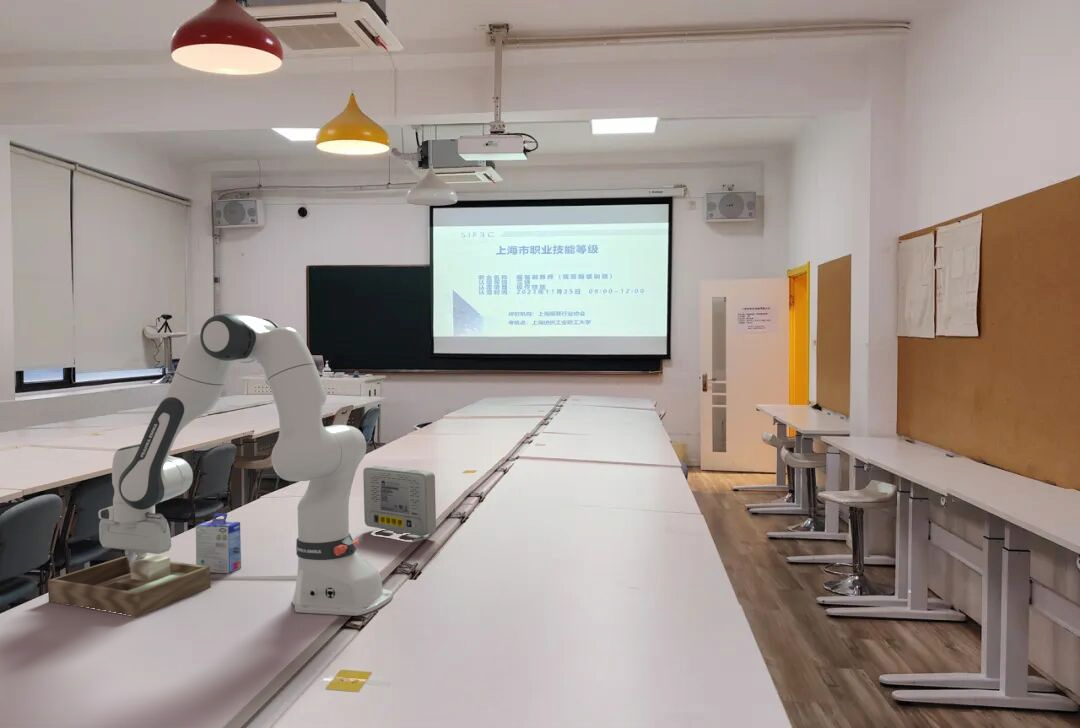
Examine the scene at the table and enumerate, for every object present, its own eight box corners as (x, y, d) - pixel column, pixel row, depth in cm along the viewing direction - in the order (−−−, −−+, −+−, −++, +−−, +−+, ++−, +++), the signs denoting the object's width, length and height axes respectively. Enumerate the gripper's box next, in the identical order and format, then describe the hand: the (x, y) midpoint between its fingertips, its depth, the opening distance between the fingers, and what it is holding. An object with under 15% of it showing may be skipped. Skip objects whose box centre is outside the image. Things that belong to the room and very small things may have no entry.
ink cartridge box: (243, 567, 189) (241, 512, 189) (229, 574, 184) (228, 517, 183) (209, 565, 191) (207, 511, 191) (195, 572, 186) (193, 516, 185)
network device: (441, 537, 215) (439, 470, 214) (421, 545, 207) (419, 475, 207) (378, 527, 228) (377, 464, 228) (358, 533, 221) (356, 468, 220)
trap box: (210, 587, 174) (209, 566, 174) (136, 617, 156) (135, 594, 156) (127, 574, 185) (126, 555, 185) (48, 601, 166) (47, 580, 166)
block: (170, 573, 176) (170, 557, 175) (148, 581, 170) (148, 564, 170) (152, 571, 178) (152, 555, 178) (130, 578, 172) (130, 562, 172)
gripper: (177, 511, 174) (178, 568, 175) (117, 505, 182) (118, 560, 182) (154, 517, 168) (156, 576, 169) (93, 511, 176) (95, 567, 176)
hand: (136, 567), depth 176 cm, fingers closed
